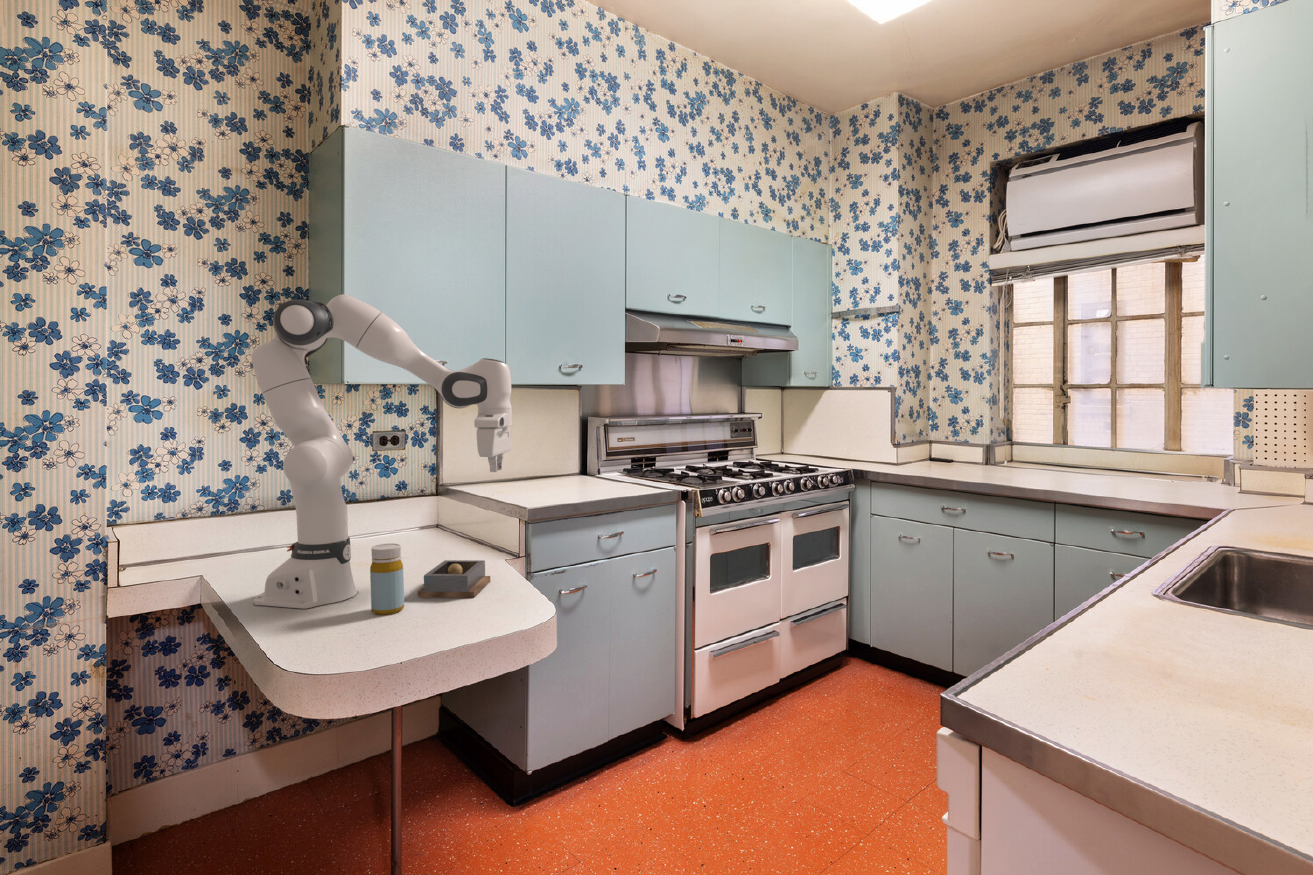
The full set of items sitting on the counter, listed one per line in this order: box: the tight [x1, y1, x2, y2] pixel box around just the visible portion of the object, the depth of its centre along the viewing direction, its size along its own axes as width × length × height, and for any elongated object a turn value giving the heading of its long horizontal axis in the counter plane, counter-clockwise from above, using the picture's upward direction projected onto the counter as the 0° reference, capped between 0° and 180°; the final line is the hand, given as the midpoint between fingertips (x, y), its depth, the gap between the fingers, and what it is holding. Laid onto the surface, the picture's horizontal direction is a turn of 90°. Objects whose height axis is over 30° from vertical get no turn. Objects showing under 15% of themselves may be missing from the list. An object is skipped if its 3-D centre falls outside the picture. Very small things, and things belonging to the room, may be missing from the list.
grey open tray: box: [423, 559, 486, 592], centre depth 168 cm, size 11×15×4 cm
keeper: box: [417, 563, 491, 599], centre depth 167 cm, size 14×14×7 cm
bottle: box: [369, 543, 405, 616], centre depth 150 cm, size 7×7×15 cm
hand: (496, 470), depth 177 cm, fingers open, 3 cm apart
